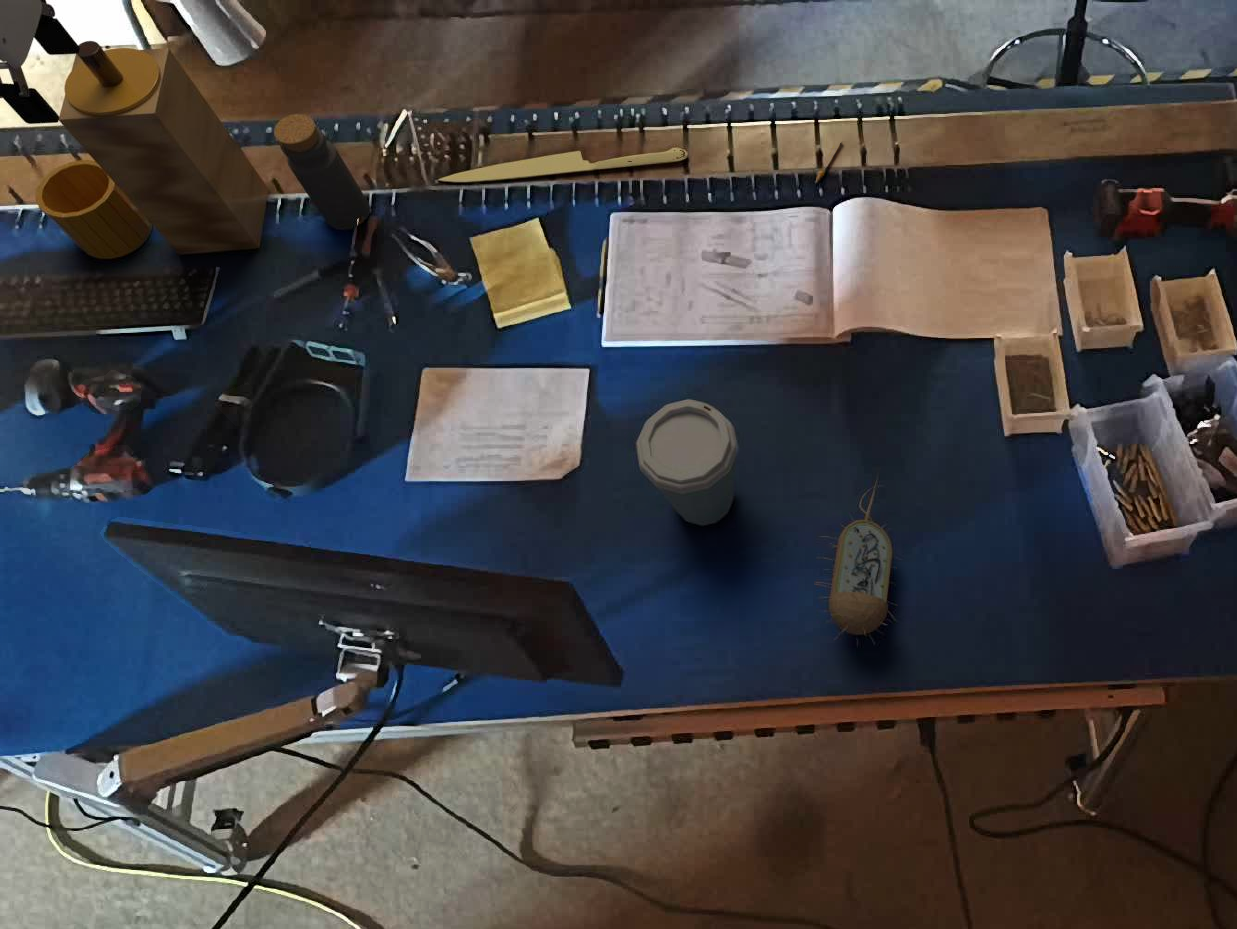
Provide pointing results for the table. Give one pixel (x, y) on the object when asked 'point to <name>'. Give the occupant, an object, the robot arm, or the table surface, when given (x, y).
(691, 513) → the disposable coffee cup
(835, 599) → the bacterium
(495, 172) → the knife
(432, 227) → the table surface
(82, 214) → the wooden cup
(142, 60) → the lid
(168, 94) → the stand
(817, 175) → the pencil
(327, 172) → the bottle
